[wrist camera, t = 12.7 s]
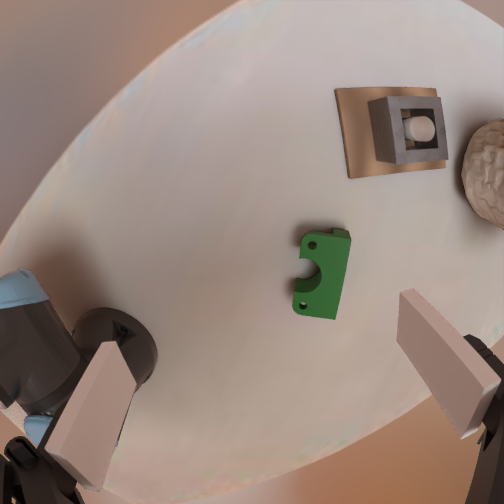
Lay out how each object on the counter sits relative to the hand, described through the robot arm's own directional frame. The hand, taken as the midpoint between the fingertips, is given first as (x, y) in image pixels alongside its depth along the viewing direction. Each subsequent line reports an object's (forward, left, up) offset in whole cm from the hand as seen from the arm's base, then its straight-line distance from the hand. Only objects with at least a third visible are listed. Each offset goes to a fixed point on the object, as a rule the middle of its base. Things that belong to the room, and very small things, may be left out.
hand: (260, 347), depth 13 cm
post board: (+22, +8, -29) cm, 37 cm away
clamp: (+8, -9, -29) cm, 32 cm away
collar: (+22, +8, -28) cm, 36 cm away
